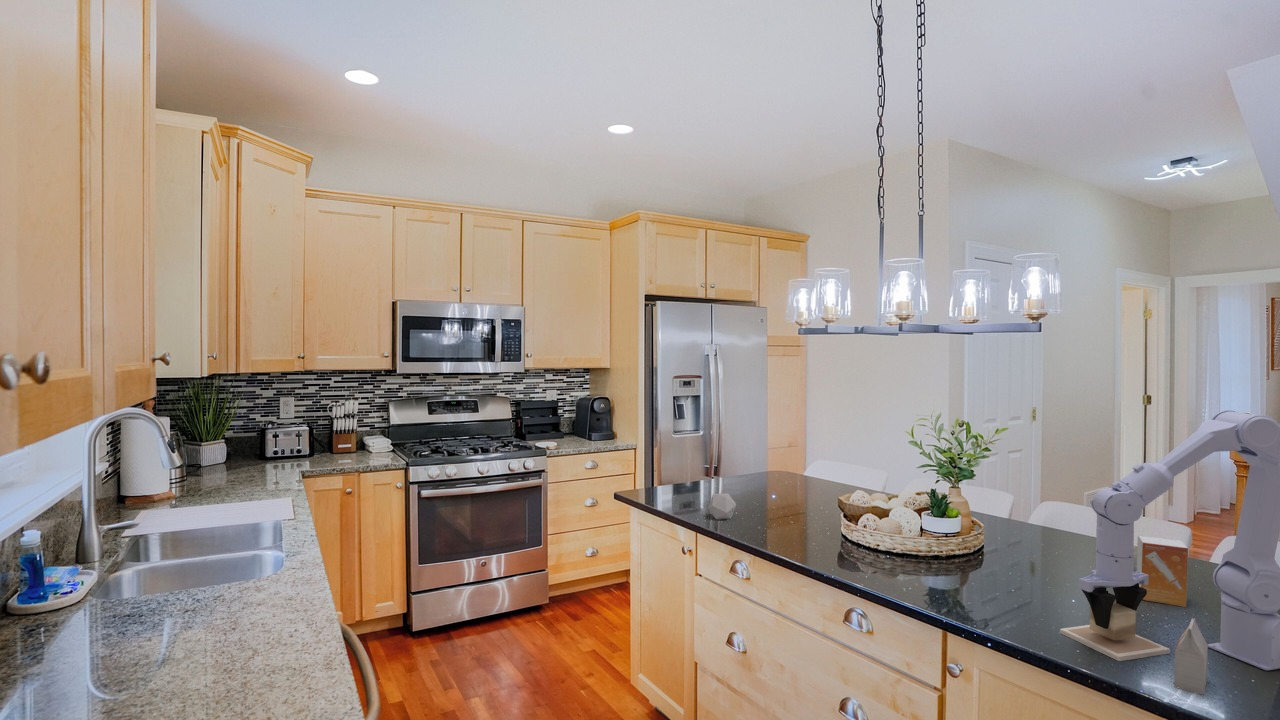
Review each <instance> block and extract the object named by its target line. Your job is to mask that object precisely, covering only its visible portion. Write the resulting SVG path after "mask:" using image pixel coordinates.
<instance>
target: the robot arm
mask: <svg viewBox="0 0 1280 720" xmlns="http://www.w3.org/2000/svg"><path fill="white" fill-rule="evenodd" d="M1217 452H1236V453H1237V454H1238V455H1239V456H1240V457H1241V458H1242V459H1243V460H1244V461H1245V462H1246V463H1247V464H1248V465H1249V469H1248V474H1247V479H1246V485H1245V489H1244V493H1243V499H1242V504H1241V507H1240V508H1241V510H1240V513H1239V519H1238V524H1237V529H1236V534H1235V539H1234V546H1233V547H1232V549H1230V550H1228V551H1226V552H1225V553H1223V554H1222V557H1221V558H1222V559H1221V561H1220V563H1219V564H1218V566H1217V567H1216V568H1215V569H1214V571H1213V573H1212V574H1213V575H1212V582H1213V585H1215V587H1216V589H1217V590H1219V591H1220V601H1221V602H1220V638H1219V641H1220V642H1214V643H1207V645H1208V648H1209V649H1211V650H1214V651H1218V652H1219V653H1221V654H1225V655H1227V656H1229V657H1231V658H1234V659H1236V660H1240V661H1241V662H1244V663H1246V664H1249V665H1251V666H1255V667H1257V668H1259V669H1262V670H1264V671H1273V670H1278V669H1280V614H1279V613H1278V611H1279V610H1280V566H1279V564H1278V562H1277V561H1276V560H1275V558H1276V557H1275V556H1276V551H1277V548H1278V542H1279V537H1280V423H1279V422H1278V421H1277V420H1276V419H1275V418H1273V417H1271V416H1268V415H1265V414H1253V413H1244V412H1239V411H1235V410H1222V411H1218V412H1216V413H1215V414H1214V415H1213V416H1211V418H1209V419H1207V420H1205V421H1203V422H1201V424H1200V425H1199V427H1198V429H1196V430H1195V432H1192V434H1190V435H1189V437H1187V438H1186V439H1185V440H1184V441H1182V442H1181V443H1180V444H1179V445H1177V446H1176V447H1175V448H1174V449H1172V450H1171V451H1170V452H1169V453H1167V454H1166V455H1165V456H1164V457H1163V458H1160V460H1159V461H1158V462H1143V464H1139V463H1136V464H1135V465H1134V466H1133V467H1132V469H1133V470H1132V471H1131V472H1130V473H1128V474H1126V476H1125V477H1123V478H1122V479H1120V480H1119V481H1116V480H1115V481H1113V482H1112V483H1111V487H1107V488H1106V487H1104V488H1102V489H1099V490H1098V491H1097V492H1096V493H1095V494H1094V497H1093V498H1092V500H1090V506H1091V508H1092V510H1093V511H1094V512H1095V514H1096V530H1095V531H1096V537H1095V538H1096V540H1095V541H1096V543H1095V569H1091V574H1090V575H1087V576H1085V577H1080V578H1079V579H1078V581H1079V582H1078V588H1079V589H1080V590H1081V591H1082V593H1083V595H1084V596H1085V598H1086V600H1087V602H1088V604H1089V608H1090V607H1091V610H1092V613H1093V616H1094V620H1095V624H1096V625H1097V626H1100V627H1102V628H1104V629H1108V627H1109V623H1110V616H1111V609H1112V606H1113V603H1114V602H1115V603H1117V604H1120V605H1122V606H1125V607H1127V608H1130V609H1132V610H1135V611H1136V612H1137V610H1138V608H1139V606H1140V604H1141V602H1142V601H1144V600H1143V598H1144V597H1145V596H1146V595H1147V590H1146V589H1144V588H1141V587H1139V584H1142V585H1148V576H1149V575H1147V574H1144V573H1141V572H1137V571H1134V549H1135V547H1134V544H1135V542H1134V541H1135V539H1134V538H1135V530H1134V529H1135V522H1137V521H1138V520H1139V519H1140V518H1141V516H1142V514H1143V509H1144V508H1145V507H1146V506H1148V505H1149V504H1151V503H1152V502H1154V501H1155V500H1156V499H1158V498H1159V497H1161V496H1162V495H1163V494H1165V493H1166V492H1168V491H1169V490H1170V489H1172V488H1173V487H1174V479H1175V477H1176V476H1178V475H1179V474H1181V473H1182V472H1184V471H1185V470H1187V469H1189V468H1191V467H1193V466H1194V465H1196V464H1197V463H1198V462H1201V461H1202V460H1204V459H1205V458H1206V457H1209V456H1210V455H1212V454H1213V453H1217ZM1111 588H1112V590H1113V592H1114V594H1113V593H1110V592H1109V590H1107V589H1111Z"/></svg>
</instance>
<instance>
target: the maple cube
mask: <svg viewBox="0 0 1280 720" xmlns="http://www.w3.org/2000/svg"><path fill="white" fill-rule="evenodd" d="M1136 615H1137V610H1136V611H1135V610H1132V609H1130V608H1127V607H1125V606H1122V605H1120V604H1117V603H1116V601H1114V603H1113V606H1112V609H1111V616H1110V623H1109V627H1108V629H1104V628H1102V627H1100V626H1097V625H1096V624H1095V620H1094V616H1093V613H1092V610H1091V607H1090V606H1089V625H1090V630H1092V631H1094V632H1097V633H1099V634H1101V635H1103V636H1105V637H1108V638H1110V639H1112V640H1121V639H1128V638H1135V634H1137V633H1136V627H1137V625H1136V621H1137V620H1136V617H1137V616H1136Z"/></svg>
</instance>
